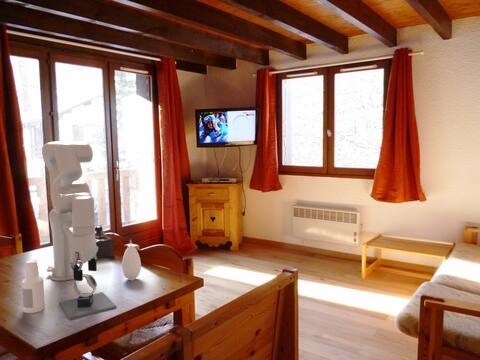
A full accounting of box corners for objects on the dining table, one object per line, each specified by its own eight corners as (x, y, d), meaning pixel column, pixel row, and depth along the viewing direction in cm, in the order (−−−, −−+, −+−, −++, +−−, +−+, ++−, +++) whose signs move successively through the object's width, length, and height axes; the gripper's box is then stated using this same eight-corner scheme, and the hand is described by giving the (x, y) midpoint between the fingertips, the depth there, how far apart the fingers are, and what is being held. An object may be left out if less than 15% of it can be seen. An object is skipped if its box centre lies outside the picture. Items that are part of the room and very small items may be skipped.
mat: (69, 319, 133) (69, 317, 133) (59, 304, 146) (59, 302, 146) (116, 307, 142) (116, 305, 142) (102, 293, 155) (102, 291, 155)
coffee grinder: (86, 256, 206) (84, 222, 204) (107, 252, 213) (105, 219, 211) (97, 263, 194) (95, 227, 192) (118, 258, 201) (117, 224, 199)
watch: (95, 306, 142) (94, 277, 140) (72, 308, 140) (71, 278, 139) (98, 300, 147) (97, 271, 146) (76, 301, 146) (74, 273, 145)
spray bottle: (28, 306, 144) (25, 258, 142) (48, 305, 145) (45, 258, 143) (20, 314, 137) (16, 264, 135) (40, 313, 138) (37, 263, 136)
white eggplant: (136, 283, 166) (134, 242, 164) (119, 282, 168) (117, 241, 166) (144, 277, 174) (143, 237, 172) (128, 276, 175) (126, 236, 174)
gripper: (86, 223, 150) (88, 266, 152) (60, 235, 133) (62, 283, 135) (105, 224, 149) (106, 268, 151) (80, 237, 132) (82, 285, 134)
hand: (85, 275), depth 143 cm, fingers open, 9 cm apart
